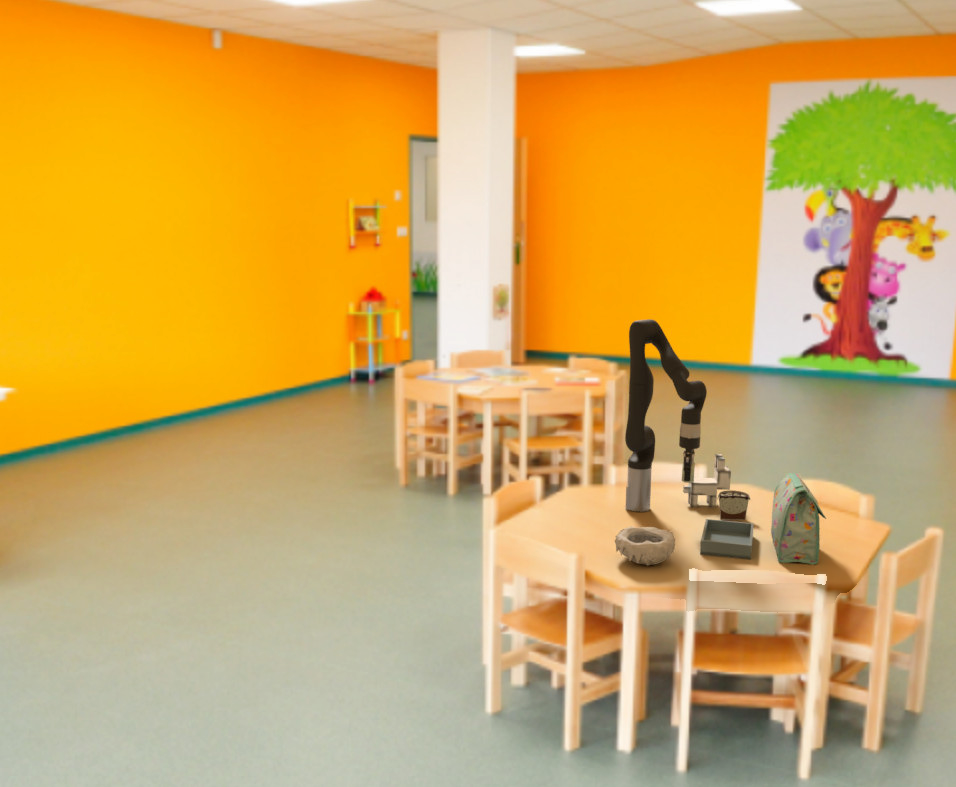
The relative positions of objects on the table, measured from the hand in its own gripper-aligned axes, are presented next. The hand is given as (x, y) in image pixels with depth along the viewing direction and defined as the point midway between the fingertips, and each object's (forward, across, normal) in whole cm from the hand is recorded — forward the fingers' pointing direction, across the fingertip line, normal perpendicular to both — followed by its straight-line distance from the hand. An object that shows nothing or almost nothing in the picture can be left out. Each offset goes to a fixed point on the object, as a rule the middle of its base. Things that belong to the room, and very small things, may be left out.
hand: (687, 478), depth 373 cm
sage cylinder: (+1, 0, 0) cm, 1 cm away
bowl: (+19, +40, -10) cm, 45 cm away
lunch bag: (+18, +17, +39) cm, 47 cm away
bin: (+18, +16, +16) cm, 29 cm away
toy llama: (+19, -29, +5) cm, 35 cm away
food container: (+19, -16, +16) cm, 30 cm away
